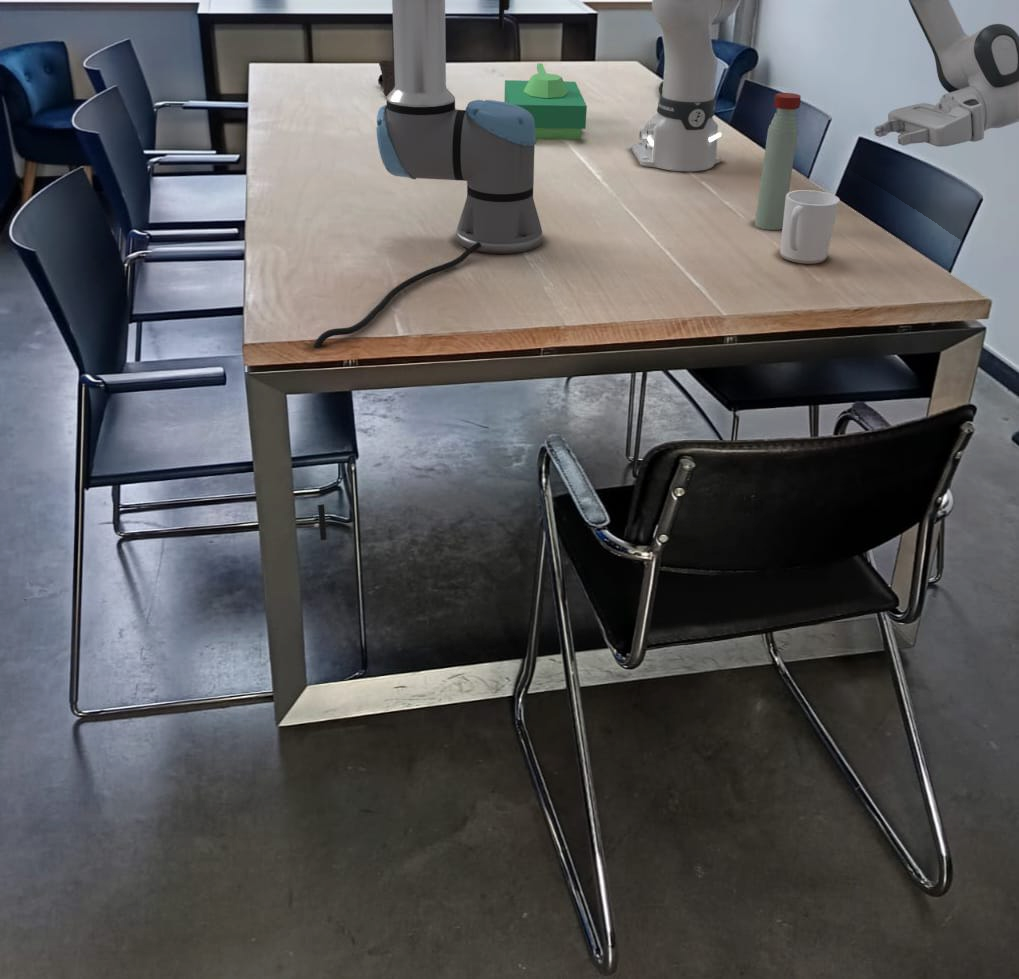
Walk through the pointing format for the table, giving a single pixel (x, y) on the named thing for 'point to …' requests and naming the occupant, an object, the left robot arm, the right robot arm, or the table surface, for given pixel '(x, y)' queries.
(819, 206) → the mug
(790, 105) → the cap
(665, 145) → the right robot arm
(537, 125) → the toy tank
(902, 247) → the table surface
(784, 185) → the bottle
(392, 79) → the axe head
